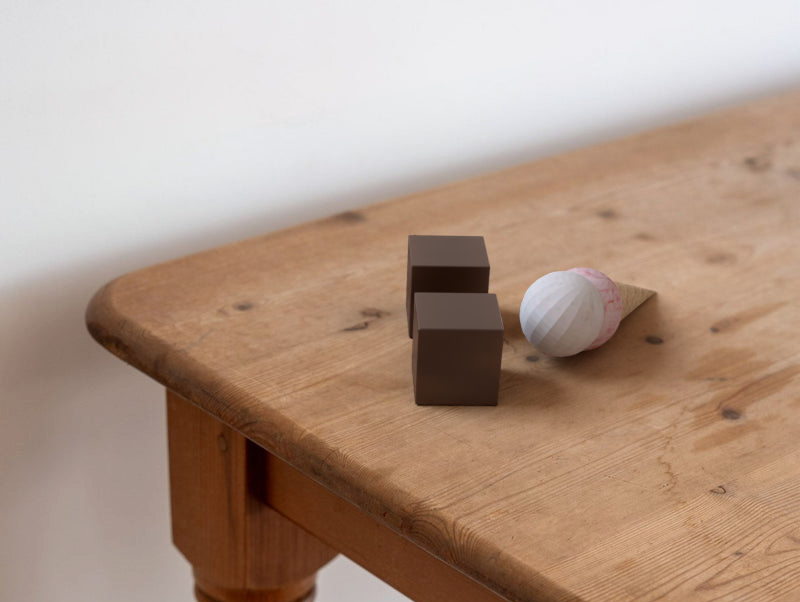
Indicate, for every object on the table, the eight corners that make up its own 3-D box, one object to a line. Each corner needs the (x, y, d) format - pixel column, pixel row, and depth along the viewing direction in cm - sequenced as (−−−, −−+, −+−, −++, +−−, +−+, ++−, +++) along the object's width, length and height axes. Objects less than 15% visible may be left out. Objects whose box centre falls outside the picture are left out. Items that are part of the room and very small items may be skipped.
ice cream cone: (608, 293, 85) (489, 321, 73) (654, 237, 82) (537, 256, 70) (657, 344, 84) (544, 380, 72) (705, 288, 81) (596, 317, 69)
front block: (490, 366, 74) (496, 292, 71) (497, 405, 70) (504, 329, 68) (411, 365, 74) (414, 291, 71) (414, 405, 70) (418, 328, 67)
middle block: (478, 305, 80) (483, 235, 77) (484, 338, 77) (490, 266, 74) (405, 304, 80) (408, 234, 77) (408, 337, 76) (411, 265, 74)
